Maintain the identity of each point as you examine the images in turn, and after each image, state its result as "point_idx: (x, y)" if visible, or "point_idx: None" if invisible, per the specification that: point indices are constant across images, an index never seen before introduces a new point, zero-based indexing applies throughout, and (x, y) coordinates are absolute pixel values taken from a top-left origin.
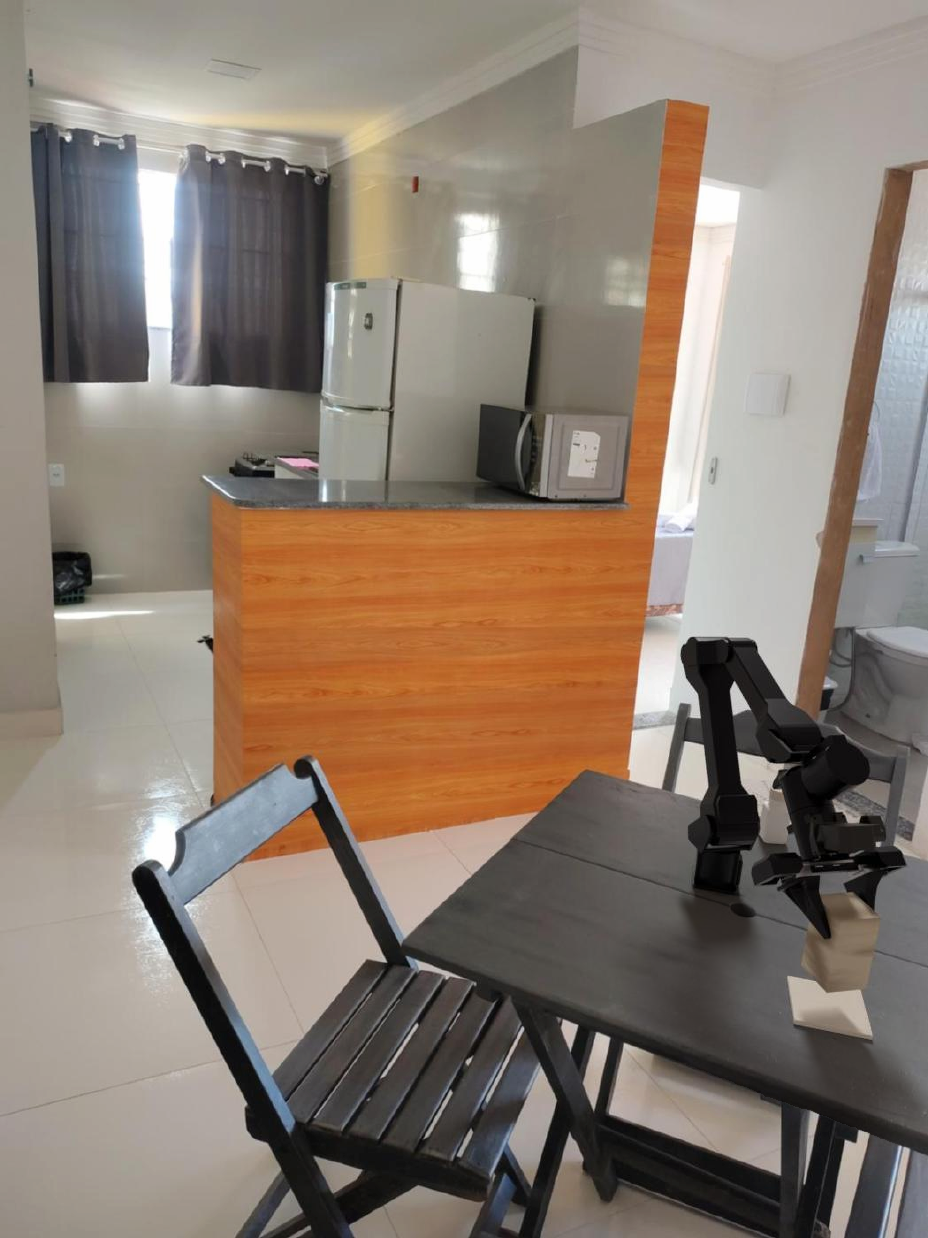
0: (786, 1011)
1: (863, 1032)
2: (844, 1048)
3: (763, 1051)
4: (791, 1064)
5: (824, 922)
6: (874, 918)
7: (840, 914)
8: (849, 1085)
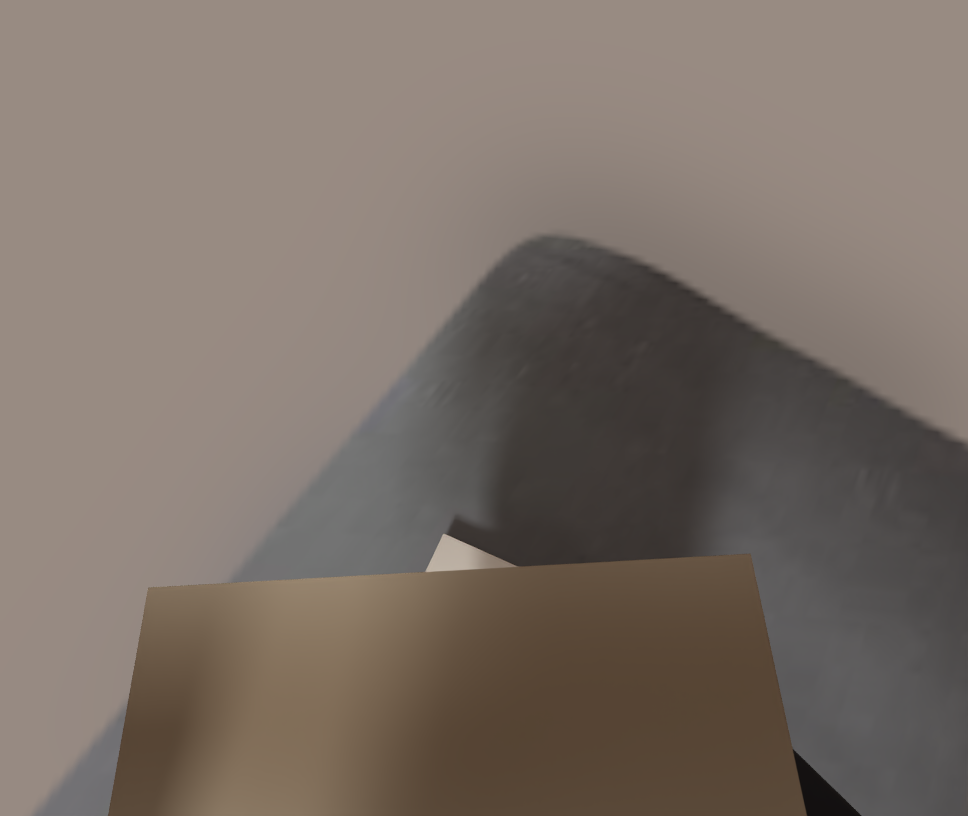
0: None
1: (467, 555)
2: (573, 508)
3: (898, 521)
4: (808, 452)
5: (806, 798)
6: (247, 584)
7: (687, 712)
8: (645, 356)
